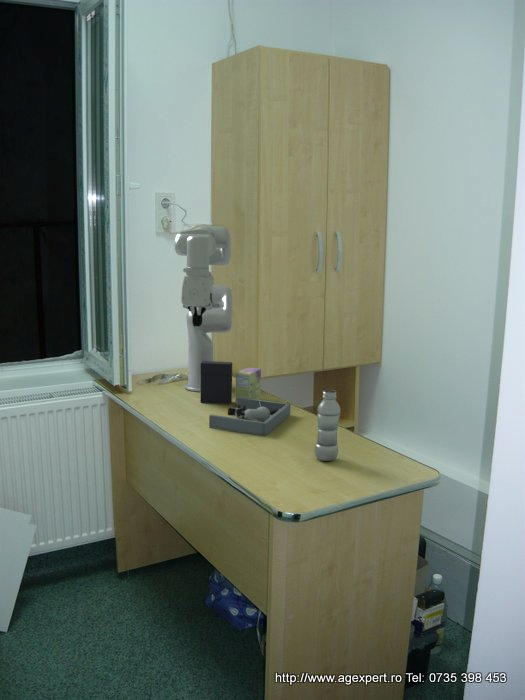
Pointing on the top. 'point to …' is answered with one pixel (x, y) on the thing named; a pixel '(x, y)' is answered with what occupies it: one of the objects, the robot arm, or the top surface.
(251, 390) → the box
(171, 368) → the top surface
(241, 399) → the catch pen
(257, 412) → the clip-on lamp
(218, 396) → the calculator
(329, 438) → the plastic bottle
